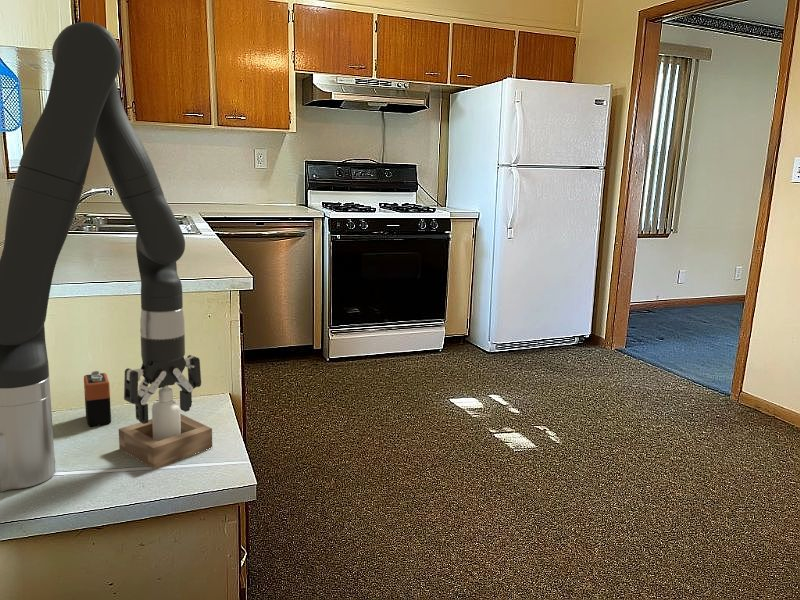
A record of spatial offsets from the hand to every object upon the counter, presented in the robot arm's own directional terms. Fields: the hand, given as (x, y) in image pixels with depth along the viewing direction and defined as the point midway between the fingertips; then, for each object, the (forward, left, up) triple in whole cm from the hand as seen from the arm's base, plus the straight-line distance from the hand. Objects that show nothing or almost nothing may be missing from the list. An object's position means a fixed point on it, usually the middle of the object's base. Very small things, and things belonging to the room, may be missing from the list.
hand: (164, 416), depth 116 cm
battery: (-2, +22, -7) cm, 23 cm away
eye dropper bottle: (0, 0, -6) cm, 6 cm away
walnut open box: (0, 0, -7) cm, 7 cm away
